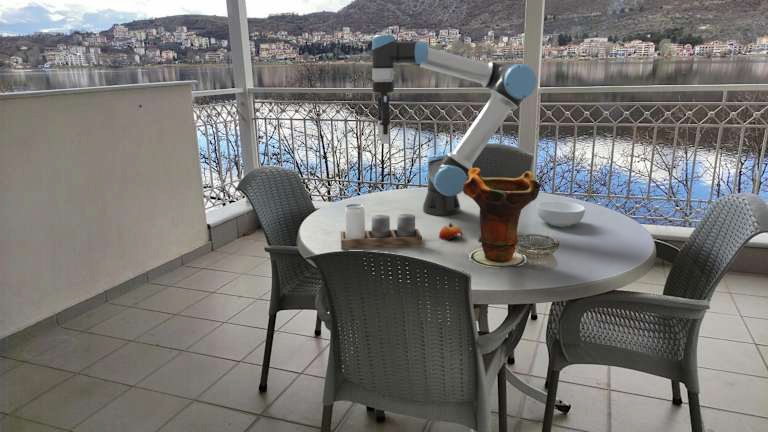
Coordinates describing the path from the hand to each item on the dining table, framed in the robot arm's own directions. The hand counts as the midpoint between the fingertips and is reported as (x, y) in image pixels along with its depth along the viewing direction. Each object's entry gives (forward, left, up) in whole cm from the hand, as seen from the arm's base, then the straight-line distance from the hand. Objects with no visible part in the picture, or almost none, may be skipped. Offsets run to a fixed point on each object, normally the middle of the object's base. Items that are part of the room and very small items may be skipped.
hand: (383, 140), depth 193 cm
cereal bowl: (-65, +11, -31) cm, 73 cm away
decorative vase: (-31, +43, -31) cm, 61 cm away
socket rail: (+4, +25, -31) cm, 40 cm away
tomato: (-21, +22, -31) cm, 44 cm away
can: (+12, +25, -30) cm, 41 cm away
